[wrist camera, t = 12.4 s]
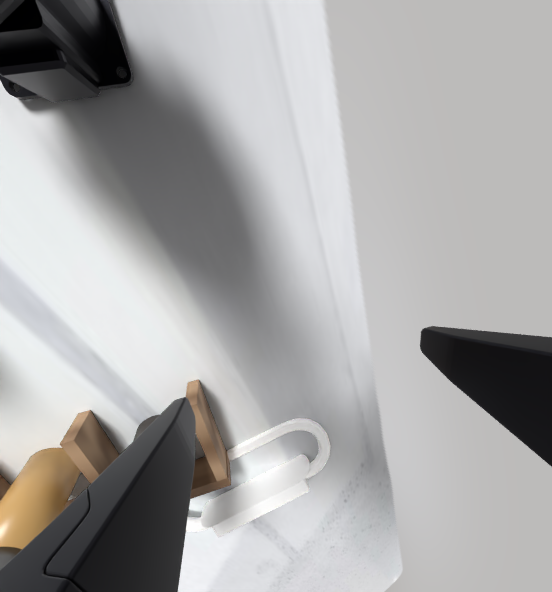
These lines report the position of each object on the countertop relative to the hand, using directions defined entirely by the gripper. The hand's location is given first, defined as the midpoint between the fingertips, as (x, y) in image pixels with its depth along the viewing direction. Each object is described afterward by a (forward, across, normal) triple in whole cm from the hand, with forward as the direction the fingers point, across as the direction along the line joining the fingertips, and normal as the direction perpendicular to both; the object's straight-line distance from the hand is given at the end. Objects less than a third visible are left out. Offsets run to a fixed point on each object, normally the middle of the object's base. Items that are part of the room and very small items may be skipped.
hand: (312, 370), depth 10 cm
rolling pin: (+14, -6, -23) cm, 28 cm away
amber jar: (+13, -22, -14) cm, 29 cm away
